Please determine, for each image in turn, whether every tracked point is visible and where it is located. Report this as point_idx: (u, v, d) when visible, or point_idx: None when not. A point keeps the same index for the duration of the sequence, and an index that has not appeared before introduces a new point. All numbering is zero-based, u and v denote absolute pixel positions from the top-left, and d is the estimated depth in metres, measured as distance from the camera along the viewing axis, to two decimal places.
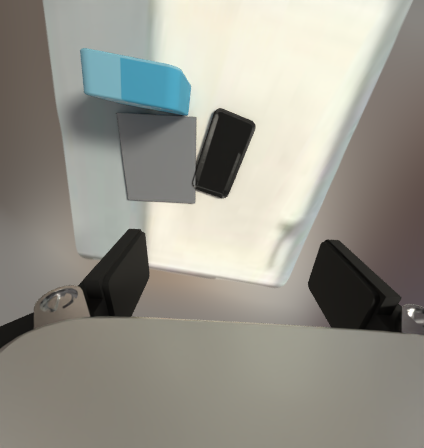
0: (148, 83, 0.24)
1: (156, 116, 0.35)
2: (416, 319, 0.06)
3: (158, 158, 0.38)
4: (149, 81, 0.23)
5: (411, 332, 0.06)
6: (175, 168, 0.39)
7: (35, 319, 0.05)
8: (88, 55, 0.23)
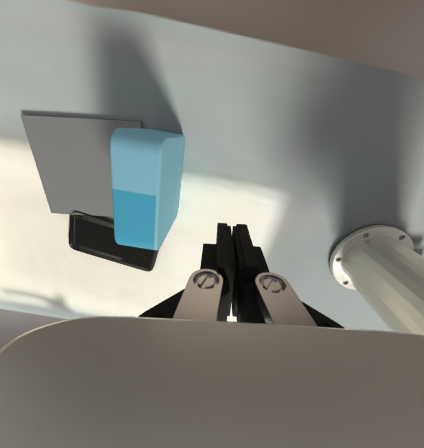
0: (135, 223, 0.20)
1: None
2: (266, 287, 0.07)
3: (95, 171, 0.29)
4: (137, 225, 0.20)
5: (272, 304, 0.06)
6: (88, 192, 0.31)
7: (200, 294, 0.06)
8: (153, 155, 0.17)
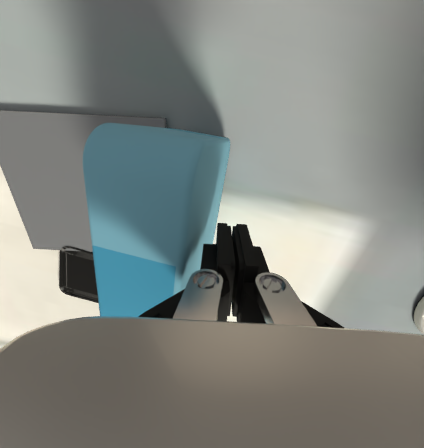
0: (135, 307, 0.10)
1: None
2: (266, 287, 0.07)
3: None
4: (138, 310, 0.10)
5: (272, 304, 0.06)
6: (85, 221, 0.21)
7: (201, 294, 0.06)
8: (174, 185, 0.07)
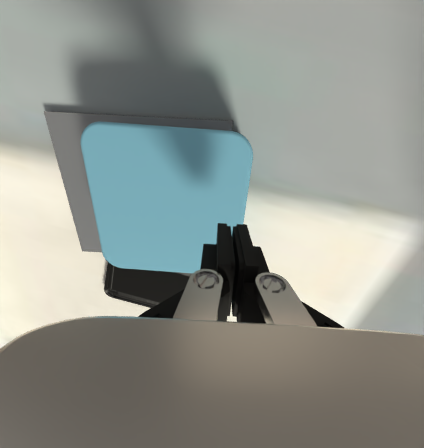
0: None
1: None
2: (266, 287, 0.07)
3: None
4: None
5: (272, 304, 0.06)
6: None
7: (201, 294, 0.06)
8: None
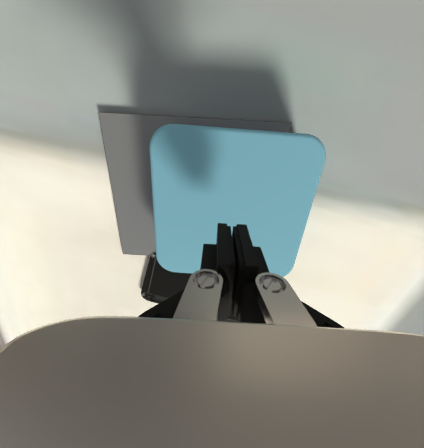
0: None
1: None
2: (266, 287, 0.07)
3: None
4: None
5: (272, 304, 0.06)
6: None
7: (201, 294, 0.06)
8: None
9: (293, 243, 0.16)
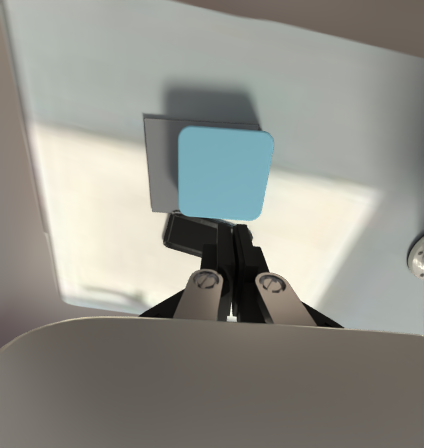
0: None
1: None
2: (266, 287, 0.07)
3: None
4: None
5: (272, 304, 0.06)
6: None
7: (200, 294, 0.06)
8: None
9: (260, 195, 0.27)
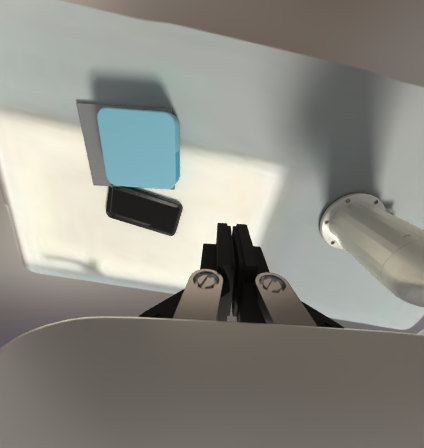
0: None
1: None
2: (266, 287, 0.07)
3: None
4: None
5: (272, 304, 0.06)
6: None
7: (201, 294, 0.06)
8: None
9: (171, 166, 0.33)
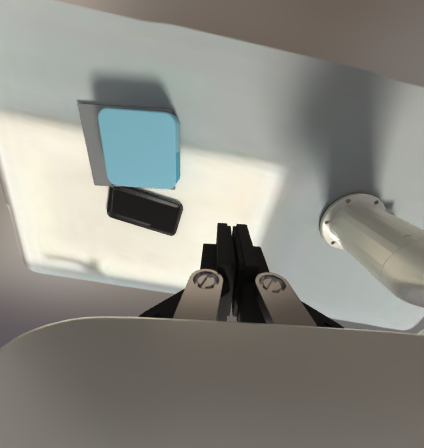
0: None
1: None
2: (266, 287, 0.07)
3: None
4: None
5: (272, 304, 0.06)
6: None
7: (200, 294, 0.06)
8: None
9: (171, 167, 0.33)
